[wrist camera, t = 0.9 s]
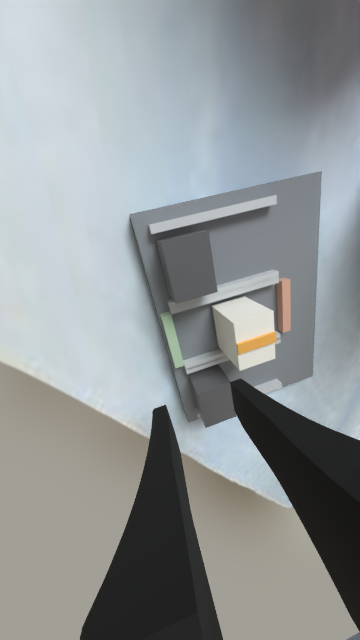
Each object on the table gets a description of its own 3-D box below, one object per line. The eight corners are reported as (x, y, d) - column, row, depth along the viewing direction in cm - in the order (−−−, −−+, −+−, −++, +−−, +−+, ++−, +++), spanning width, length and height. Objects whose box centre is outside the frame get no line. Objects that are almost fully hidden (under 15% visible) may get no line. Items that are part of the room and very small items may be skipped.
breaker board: (309, 175, 18) (360, 158, 14) (304, 370, 26) (335, 393, 22) (129, 215, 16) (131, 209, 12) (185, 413, 24) (197, 447, 20)
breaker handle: (244, 296, 18) (275, 311, 15) (248, 336, 20) (277, 359, 16) (211, 305, 18) (235, 324, 14) (218, 346, 20) (241, 372, 16)
